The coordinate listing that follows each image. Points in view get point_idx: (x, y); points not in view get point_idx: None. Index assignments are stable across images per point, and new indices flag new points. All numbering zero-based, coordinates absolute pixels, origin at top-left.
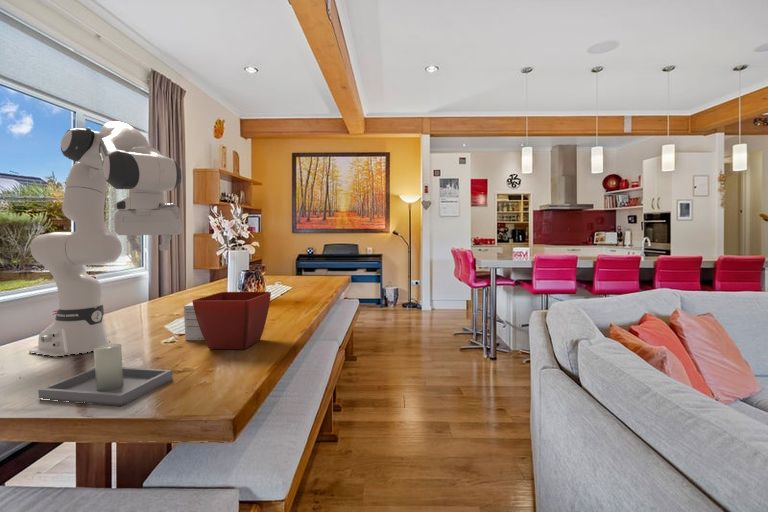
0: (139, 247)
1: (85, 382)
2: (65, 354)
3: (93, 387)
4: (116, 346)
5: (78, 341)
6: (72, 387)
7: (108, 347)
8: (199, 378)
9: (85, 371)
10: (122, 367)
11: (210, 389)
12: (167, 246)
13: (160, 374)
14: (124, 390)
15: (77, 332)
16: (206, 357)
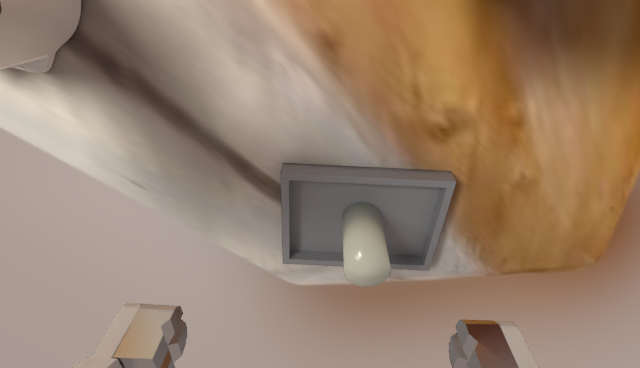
0: (161, 329)
1: (299, 206)
2: (50, 58)
3: (334, 221)
4: (384, 268)
5: (37, 39)
6: (298, 224)
7: (372, 274)
8: (505, 162)
9: (281, 200)
10: (382, 229)
11: (543, 203)
12: (528, 357)
13: (444, 202)
14: (398, 227)
15: (11, 44)
16: (471, 23)
